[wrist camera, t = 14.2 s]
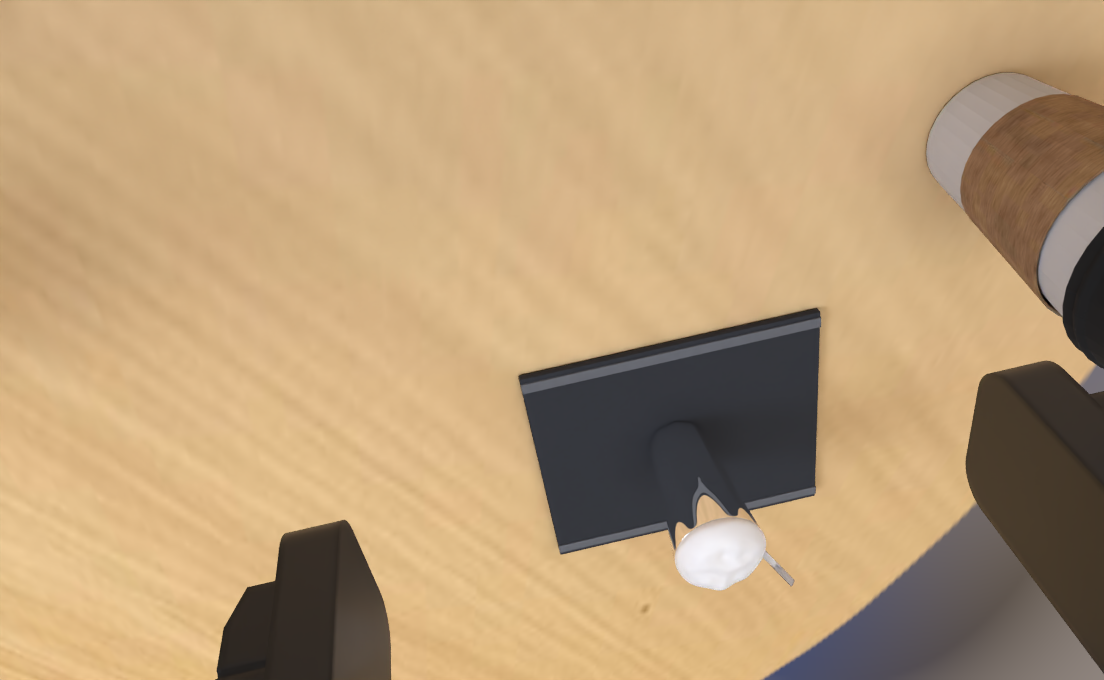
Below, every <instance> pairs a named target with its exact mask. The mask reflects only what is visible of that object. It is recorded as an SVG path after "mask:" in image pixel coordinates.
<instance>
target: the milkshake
mask: <svg viewBox="0 0 1104 680" xmlns="http://www.w3.org/2000/svg"><path fill="white" fill-rule="evenodd" d="M649 450H650V458H651V462H652V466H653V470H654V474H655V478H656V482H657V485H658V489H659V493H660V497H661V501H662V505H663V509H664V513H665V517H666V521H667V527H668V532H669V537H670V541H671V546H672V551H673V555H674V560H675V564H676V567H677V570H678V571H679V573H680V575H681V576H682V577H683V578H684V579H685V580H686V581H687V582H689V583H690V584H692V585H695V586H698V587H704V588H709V589H713V590H724V589H726V588H728V587H730V586H731V585H733V584H734V583H736V582H738V581H741V580H744V579H746V578H747V577H748V576H749V575H750V574H751V573H752V572H753V571H754V569H755V568H756V567H757V566H758V564H759V563H760V561H761V560H762V558H764V559H765V560H766V561H767V562H768V563H769V564H770V565H771V566H772V567H773V568H774V570H775V571H776V572H777V573H778V574H779V575H780V576H781V577H782V578H783V579H784V580H785V581H786V582H787V583H788V584H789V585H790V586H792V585H793V583H794V579H793V578H792V577H791V576H790V575H789V574H788V573H787V572H786V571H785V570H784V569H783V568H782V567H781V566H780V565H779V564H778V563H777V562H776V561H775V560H774V559H773V558H772V557H771V556H770V555H769V554H768V553H767V552H766V551H765V548H766V539H765V536H764V534H763V532H762V530H761V529H760V527H759V525H758V524H757V522H756V521H755V519H754V517H753V516H752V514H751V513H750V511H749V509H748V508H747V506H746V504H745V503H744V501H743V500H742V498H741V496H740V495H739V493H738V491H737V489H736V488H735V486H734V484H733V482H732V481H731V479H730V477H729V475H728V473H727V472H726V470H725V468H724V466H723V465H722V463H721V461H720V459H719V458H718V456H717V454H716V452H715V451H714V449H713V447H712V445H711V444H710V442H709V440H708V438H707V437H706V435H705V433H704V432H703V431H702V430H701V429H700V428H698V427H697V426H696V425H695V424H693V423H692V422H673V423H671V424H669V425H667V426H665V427H663V428H661V429H658V431H657V432H656V433H655V435H654V436H653V438H652V439H651V440H650V442H649Z"/></svg>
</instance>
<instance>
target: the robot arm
mask: <svg viewBox="0 0 1104 680" xmlns="http://www.w3.org/2000/svg"><path fill="white" fill-rule="evenodd" d="M966 474H967V478H968V482H969V486H970V489H971V491H972V494H973V496H974V498H975V500H976V502H977V504H978V505H979V507H980V508H981V510H982V511H983V513H984V514H985V515H986V516H987V518H988V519H989V521H990V522H991V523H992V524H993V526H994V527H995V529H996V530H997V531H998V533H999V534H1000V535H1001V536H1002V538H1003V539H1004V541H1005V542H1006V543H1007V545H1008V546H1009V547H1010V549H1011V550H1012V551H1013V553H1014V554H1015V555H1016V557H1017V558H1018V559H1019V561H1020V562H1021V563H1022V565H1023V566H1024V567H1025V569H1026V570H1027V571H1028V573H1029V574H1030V575H1031V577H1032V578H1033V579H1034V581H1035V582H1036V583H1037V585H1038V586H1039V587H1040V589H1041V590H1042V591H1043V593H1044V594H1045V596H1046V597H1047V598H1048V600H1049V601H1050V602H1051V604H1052V605H1053V606H1054V607H1055V609H1056V610H1057V612H1058V613H1059V614H1060V616H1061V617H1062V618H1063V619H1064V621H1065V622H1066V624H1067V625H1068V626H1069V628H1070V629H1071V630H1072V632H1073V633H1074V634H1075V636H1076V637H1077V638H1078V639H1079V641H1080V642H1081V644H1082V645H1083V646H1084V648H1085V649H1086V650H1087V652H1088V653H1089V654H1090V656H1091V657H1092V658H1093V660H1094V661H1095V662H1096V664H1097V665H1098V666H1099V668H1100V669H1101V670H1102V672H1103V673H1104V391H1103V392H1098V393H1094V394H1088V392H1087V391H1085V389H1084V388H1083V387H1081V386H1080V385H1079V384H1078V383H1077V382H1076V381H1075V380H1074V379H1073V378H1072V377H1071V376H1070V375H1069V374H1068V373H1067V372H1066V371H1065V370H1064V369H1063V368H1062V367H1060V366H1059V365H1058V364H1056V363H1054V362H1051V361H1042V362H1037V363H1033V364H1029V365H1024V366H1020V367H1016V368H1011V369H1007V370H1003V371H998V372H994V373H990V374H986V375H985V376H984V377H983V378H982V379H981V381H980V383H979V387H978V392H977V398H976V404H975V409H974V415H973V421H972V427H971V432H970V438H969V444H968V449H967V455H966ZM217 673H218V679H215V680H391V643H390V631H389V624H388V618H387V613H386V609H385V605H384V601H383V598H382V596H381V593H380V591H379V588H378V586H377V584H376V582H375V579H374V577H373V575H372V573H371V570H370V568H369V566H368V564H367V561H366V559H365V557H364V555H363V552H362V550H361V548H360V546H359V543H358V541H357V539H356V537H355V534H354V532H353V530H352V528H351V526H350V524H349V523H348V522H347V521H346V520H342V521H337V522H333V523H329V524H324V525H320V526H316V527H311V528H307V529H303V530H298V531H294V532H289V533H285V534H284V535H283V537H282V538H281V542H280V547H279V554H278V563H277V571H276V580H275V581H273V582H269V583H265V584H260V585H256V586H252V587H247V589H246V591H245V592H244V594H243V596H242V598H241V599H240V601H239V603H238V604H237V606H236V608H235V610H234V611H233V613H232V615H231V617H230V618H229V620H228V622H227V624H226V625H225V627H224V630H223V636H222V642H221V648H220V654H219V660H218V666H217Z"/></svg>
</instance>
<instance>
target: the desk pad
mask: <svg viewBox="0 0 1104 680" xmlns="http://www.w3.org/2000/svg"><path fill="white" fill-rule="evenodd" d="M820 327H821V317H820V311H819V310H818V309H817V308H816V309H812V310H807V311H803V312H799V313H794V314H790V315H785V316H781V317H776V318H772V319H768V320H763V321H759V322H754V323H750V324H746V325H741V326H737V327H732V328H728V329H723V330H719V331H715V332H710V333H706V334H701V335H697V336H692V337H688V338H684V339H679V340H675V341H670V342H666V343H662V344H657V345H653V346H648V347H644V348H639V349H635V350H631V351H626V352H622V353H617V354H613V355H609V356H604V357H600V358H595V359H591V360H586V361H582V362H578V363H573V364H569V365H564V366H560V367H556V368H551V369H547V370H542V371H538V372H533V373H529V374H525V375H520V376H519V381H520V385H521V389H522V393H523V398H524V402H525V406H526V410H527V414H528V419H529V423H530V427H531V431H532V436H533V440H534V444H535V448H536V453H537V457H538V461H539V465H540V470H541V474H542V478H543V482H544V487H545V491H546V495H547V499H548V503H549V508H550V512H551V516H552V520H553V525H554V529H555V533H556V537H557V542H558V546H559V550H560V554H566V553H570V552H574V551H578V550H583V549H587V548H591V547H596V546H600V545H604V544H608V543H613V542H617V541H621V540H626V539H630V538H634V537H638V536H643V535H647V534H651V533H656V532H660V531H664V530H668V527H667V521H666V517H665V513H664V509H663V505H662V501H661V497H660V493H659V489H658V485H657V482H656V478H655V474H654V470H653V466H652V462H651V458H650V450H649V442H650V440H651V439H652V438H653V436H654V435H655V433H656V432H657V431H658V429H661V428H663V427H665V426H667V425H669V424H671V423H673V422H692V423H693V424H695V425H696V426H697V427H698V428H700V429H701V430H702V431H703V432H704V433H705V435H706V437H707V438H708V440H709V442H710V444H711V445H712V447H713V449H714V451H715V452H716V454H717V456H718V458H719V459H720V461H721V463H722V465H723V466H724V468H725V470H726V472H727V473H728V475H729V477H730V479H731V481H732V482H733V484H734V486H735V488H736V489H737V491H738V493H739V495H740V496H741V498H742V500H743V501H744V503H745V504H746V506H747V508H748V509H749V511H750V510H754V509H758V508H763V507H767V506H771V505H775V504H780V503H784V502H788V501H793V500H797V499H801V498H805V497H810V496H814V495H815V493H816V486H815V464H816V432H817V400H818V368H819V336H820Z"/></svg>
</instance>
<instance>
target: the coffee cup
mask: <svg viewBox="0 0 1104 680" xmlns="http://www.w3.org/2000/svg"><path fill="white" fill-rule="evenodd" d="M926 156H927V164H928V167H929V169H930V172H931V174H932V175H933V177H934V178H935V179H936V180H937V182H938V183H939V184H940V185H941V186H942V187H943V189H944V190H945V191H946V192H947V193H948V194H949V195H950V196H951V197H952V198H953V199H954V200H955V201H956V203H957V204H958V205H959V206H960V207H961V208H962V209H963V210H964V211H965V212H966V214H967V215H968V216H969V218H970V219H971V220H972V221H973V223H974V224H975V225H976V226H977V227H978V228H979V229H980V231H981V232H982V233H983V234H984V235H985V236H986V238H987V239H988V240H989V241H990V242H991V243H992V245H993V246H994V247H995V248H996V249H997V250H998V252H999V253H1000V254H1001V255H1002V256H1003V257H1004V258H1005V260H1006V261H1007V262H1008V263H1009V264H1010V265H1011V267H1012V268H1013V269H1014V270H1015V271H1016V272H1017V274H1018V275H1019V276H1020V277H1021V278H1022V279H1023V280H1024V282H1025V283H1026V284H1027V285H1028V286H1029V287H1030V289H1031V290H1032V291H1033V292H1034V293H1035V294H1036V296H1037V297H1038V298H1039V299H1040V300H1041V301H1042V303H1043V304H1044V305H1045V306H1046V307H1047V308H1048V309H1049V310H1051V311H1052V312H1054V313H1055V314H1056V315H1058V316H1061V317H1063V324H1064V327H1065V330H1066V333H1067V336H1068V337H1069V339H1070V340H1071V341H1072V343H1073V344H1074V345H1075V347H1076V348H1077V349H1079V350H1080V351H1082V352H1083V353H1084V354H1085V355H1086V357H1087V358H1088V359H1089V360H1091V361H1092V362H1094V363H1095V364H1096V365H1098V366H1099V367H1101V368H1104V106H1102V105H1099V104H1096V103H1094V102H1091V101H1089V100H1086V99H1083V98H1081V97H1078V96H1074V95H1071V94H1068V93H1066V92H1064V91H1061V90H1059V89H1057V88H1054V87H1052V86H1050V85H1047V84H1045V83H1043V82H1040V81H1038V80H1036V79H1033V78H1031V77H1029V76H1026V75H1023V74H1018V73H1012V72H1011V73H998V74H994V75H990V76H986V77H984V78H982V79H979V80H977V81H975V82H973V83H972V84H970V85H968V86H967V87H965V88H964V89H962V90H961V91H960V92H959V93H958V94H956V95H955V96H954V97H953V98H952V99H951V100H950V101H949V102H948V103H947V105H946V106H945V107H944V108H943V109H942V111H941V112H940V114H939V115H938V117H937V118H936V120H935V122H934V124H933V126H932V129H931V131H930V134H929V138H928V141H927V151H926Z"/></svg>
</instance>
